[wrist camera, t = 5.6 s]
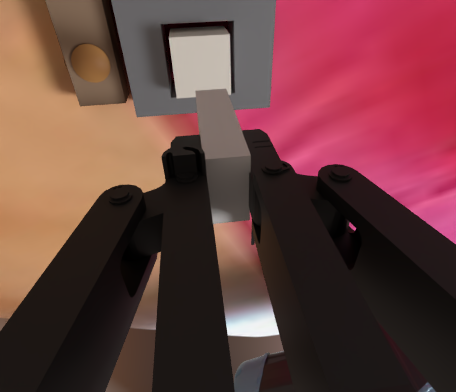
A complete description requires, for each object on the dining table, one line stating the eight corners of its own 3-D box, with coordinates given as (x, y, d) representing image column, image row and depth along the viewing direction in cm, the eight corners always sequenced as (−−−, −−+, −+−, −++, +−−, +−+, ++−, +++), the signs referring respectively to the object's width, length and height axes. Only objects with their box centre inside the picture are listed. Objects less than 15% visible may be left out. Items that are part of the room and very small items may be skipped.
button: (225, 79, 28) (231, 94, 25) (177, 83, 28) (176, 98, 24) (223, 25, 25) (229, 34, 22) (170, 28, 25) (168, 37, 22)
